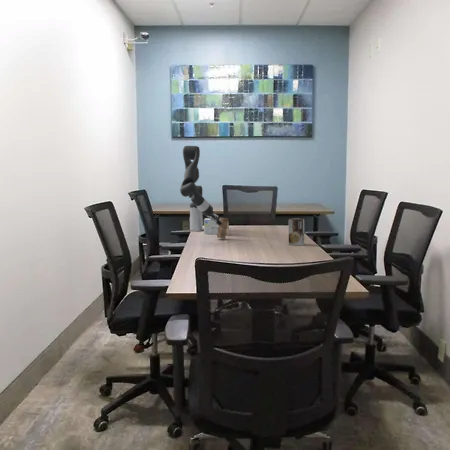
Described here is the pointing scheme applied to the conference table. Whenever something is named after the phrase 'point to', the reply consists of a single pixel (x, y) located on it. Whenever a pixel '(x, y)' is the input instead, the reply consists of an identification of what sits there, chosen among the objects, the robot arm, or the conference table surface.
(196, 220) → the robot arm
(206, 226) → the light bulb box
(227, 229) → the maple block
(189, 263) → the conference table surface
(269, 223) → the conference table surface
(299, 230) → the coffee box
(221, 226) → the walnut block
